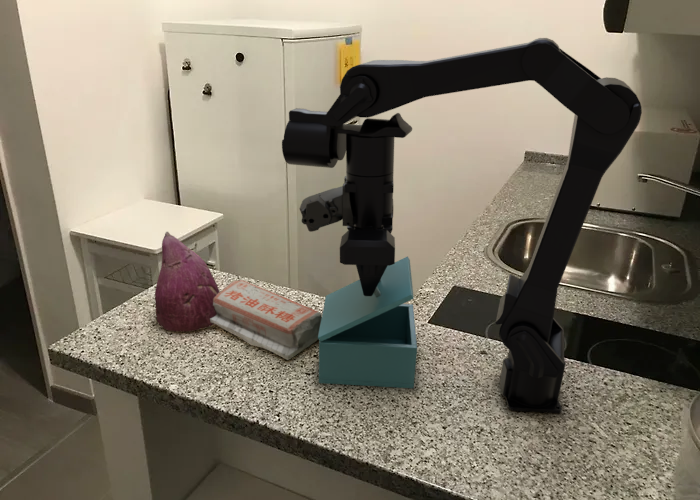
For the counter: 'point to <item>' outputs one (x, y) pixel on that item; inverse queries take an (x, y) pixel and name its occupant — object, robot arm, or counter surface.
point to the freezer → (372, 352)
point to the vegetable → (184, 289)
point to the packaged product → (266, 319)
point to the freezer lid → (366, 300)
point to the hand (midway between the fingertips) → (368, 286)
